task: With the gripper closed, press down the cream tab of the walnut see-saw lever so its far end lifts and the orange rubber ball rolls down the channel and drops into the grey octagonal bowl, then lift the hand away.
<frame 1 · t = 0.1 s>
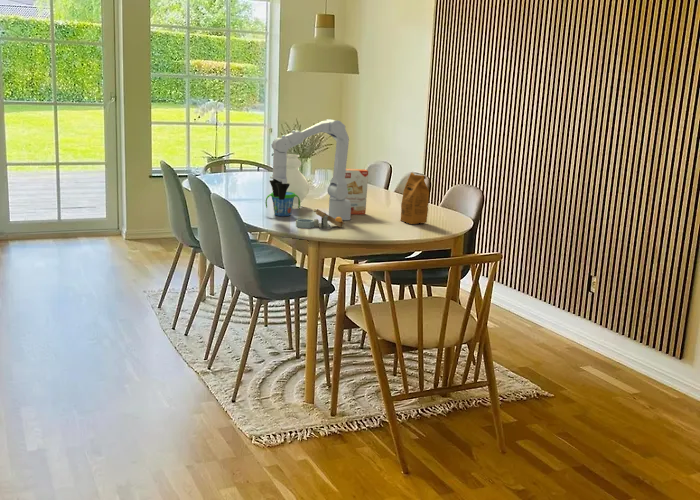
hand: (279, 198, 322), 10 cm above the table, tool pointing down, fingers open, 7 cm apart
grey octagonal bowl: (304, 226, 316), on the table
ball: (338, 220, 318), point 3 cm above the table, touching lever
fulcrum: (324, 226, 317), on the table
coffee package: (413, 222, 337), on the table
snack cup: (282, 215, 338), on the table
cracker box: (350, 214, 351), on the table
lever: (328, 216, 320), point 4 cm above the table, hinge at -27.8°, touching ball
decorative vase: (290, 207, 362), on the table
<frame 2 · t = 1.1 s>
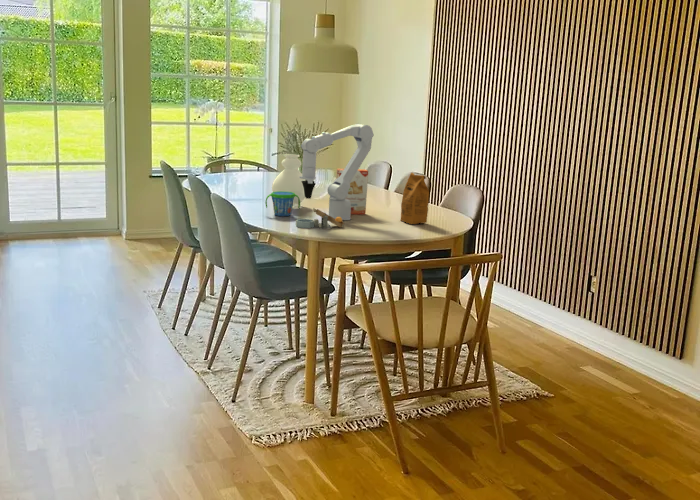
hand: (307, 197, 328), 10 cm above the table, tool pointing down, fingers open, 3 cm apart
lever: (328, 216, 320), point 4 cm above the table, hinge at -27.8°, touching ball
everything else where it was.
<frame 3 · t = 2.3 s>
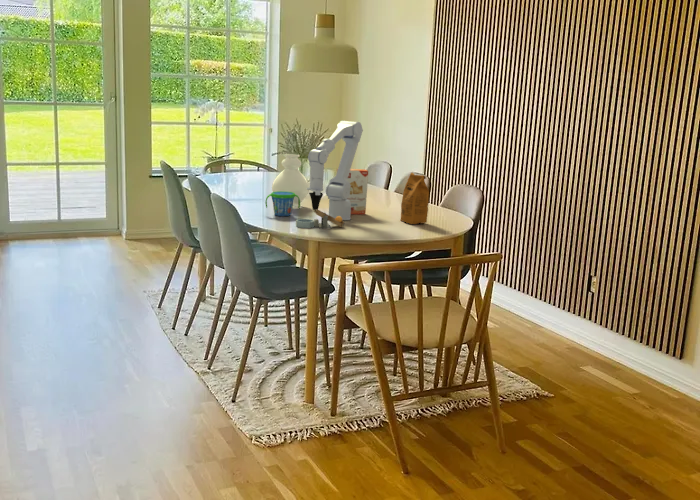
hand: (315, 209, 322), 6 cm above the table, tool pointing down, fingers closed, pressing on lever
lever: (328, 216, 320), point 4 cm above the table, hinge at -25.7°, touching ball, gripper
everything else where it was.
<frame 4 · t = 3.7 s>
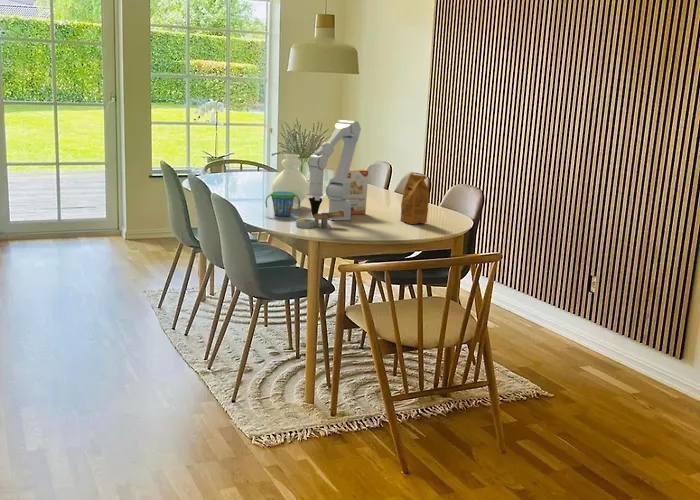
hand: (314, 214, 322), 4 cm above the table, tool pointing down, fingers closed, pressing on lever
ball: (301, 221, 315), point 2 cm above the table, tilted 81°, touching grey octagonal bowl
lever: (327, 213, 319), point 5 cm above the table, hinge at 8.4°, touching gripper
everything else where it was.
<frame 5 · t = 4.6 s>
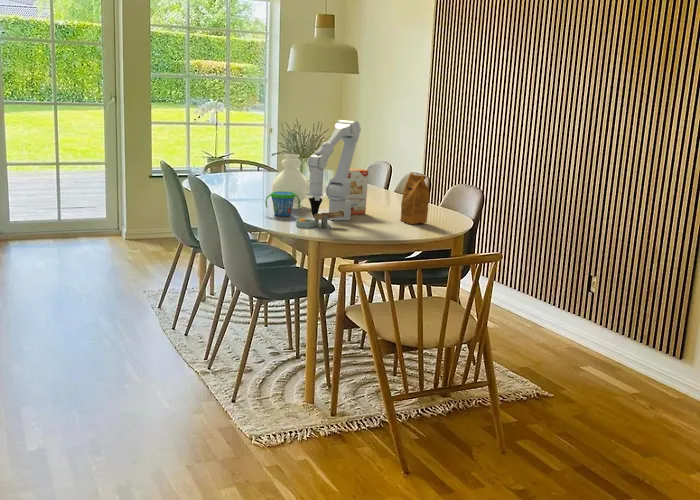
hand: (314, 214, 322), 4 cm above the table, tool pointing down, fingers closed, pressing on lever
ball: (302, 221, 315), point 2 cm above the table, tilted 88°, touching grey octagonal bowl
lever: (327, 213, 319), point 5 cm above the table, hinge at 8.6°, touching gripper
everything else where it was.
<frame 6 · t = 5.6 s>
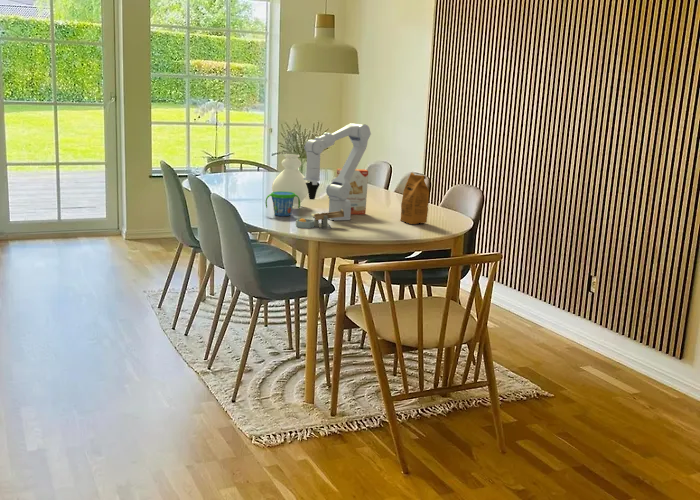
hand: (311, 199, 324), 10 cm above the table, tool pointing down, fingers closed
ball: (302, 221, 315), point 2 cm above the table, tilted 95°, touching grey octagonal bowl
lever: (327, 213, 319), point 5 cm above the table, hinge at 8.6°
everything else where it was.
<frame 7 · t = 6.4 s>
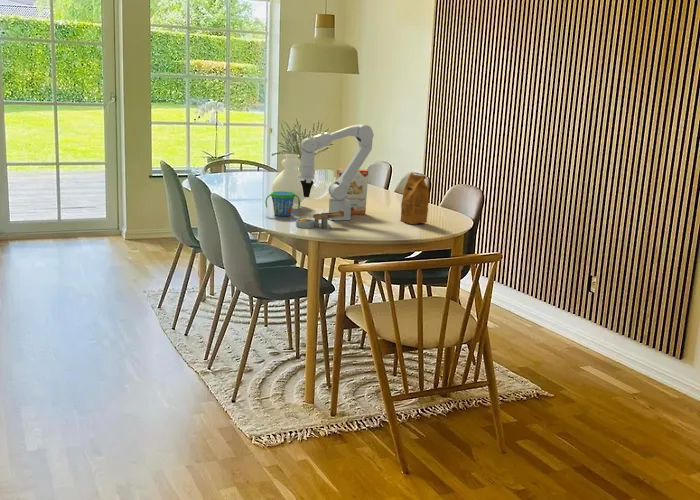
hand: (306, 197, 329), 10 cm above the table, tool pointing down, fingers closed
ball: (302, 221, 315), point 2 cm above the table, tilted 100°, touching grey octagonal bowl
everything else where it was.
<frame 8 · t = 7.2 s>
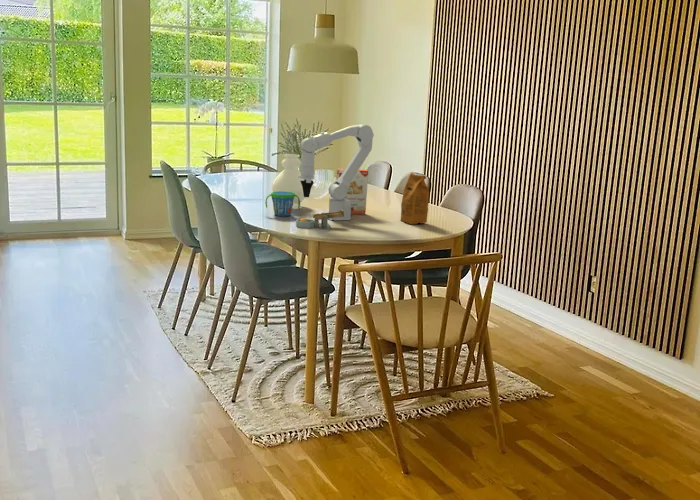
hand: (306, 197, 329), 10 cm above the table, tool pointing down, fingers closed
ball: (303, 221, 315), point 2 cm above the table, tilted 106°, touching grey octagonal bowl
everything else where it was.
at the end: ball 0.8 cm off-centre on the grey octagonal bowl, point 1.8 cm above the grey octagonal bowl's base; ball point 1.8 cm above the table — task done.
